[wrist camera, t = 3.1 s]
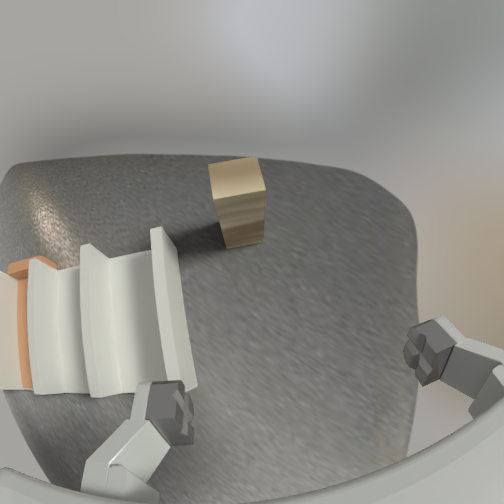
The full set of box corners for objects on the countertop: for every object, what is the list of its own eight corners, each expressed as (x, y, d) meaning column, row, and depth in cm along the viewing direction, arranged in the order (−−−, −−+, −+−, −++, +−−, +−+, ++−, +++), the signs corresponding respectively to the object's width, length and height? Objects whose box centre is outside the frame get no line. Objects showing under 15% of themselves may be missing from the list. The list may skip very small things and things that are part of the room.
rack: (197, 386, 22) (183, 393, 18) (24, 388, 21) (-5, 388, 16) (176, 237, 27) (160, 213, 23) (19, 274, 26) (-6, 260, 21)
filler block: (263, 242, 27) (265, 189, 18) (226, 249, 27) (213, 199, 18) (256, 214, 28) (256, 156, 20) (221, 221, 28) (208, 164, 19)
